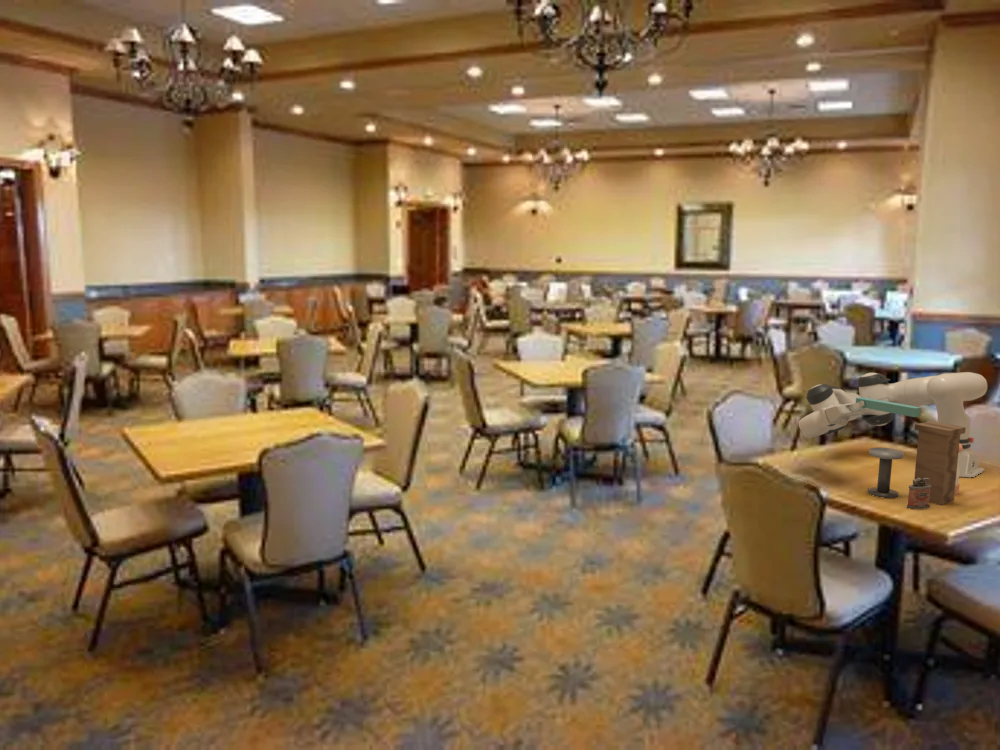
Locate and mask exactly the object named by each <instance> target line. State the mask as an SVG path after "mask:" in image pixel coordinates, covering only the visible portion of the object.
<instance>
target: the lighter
mask: <svg viewBox="0 0 1000 750" xmlns="http://www.w3.org/2000/svg"><path fill="white" fill-rule="evenodd" d="M929 481H930V479H929V478H922V479H921V478H917V479H912V484H909V485H908V497H907V498H908V499H907V505H906V508H907V509H909V508H910V509H909V510H923V509H924V508H925V509H929V508H930V507H931V506H930V502H929V499H930V489H931V485H928V484H926V482H929Z"/></svg>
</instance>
